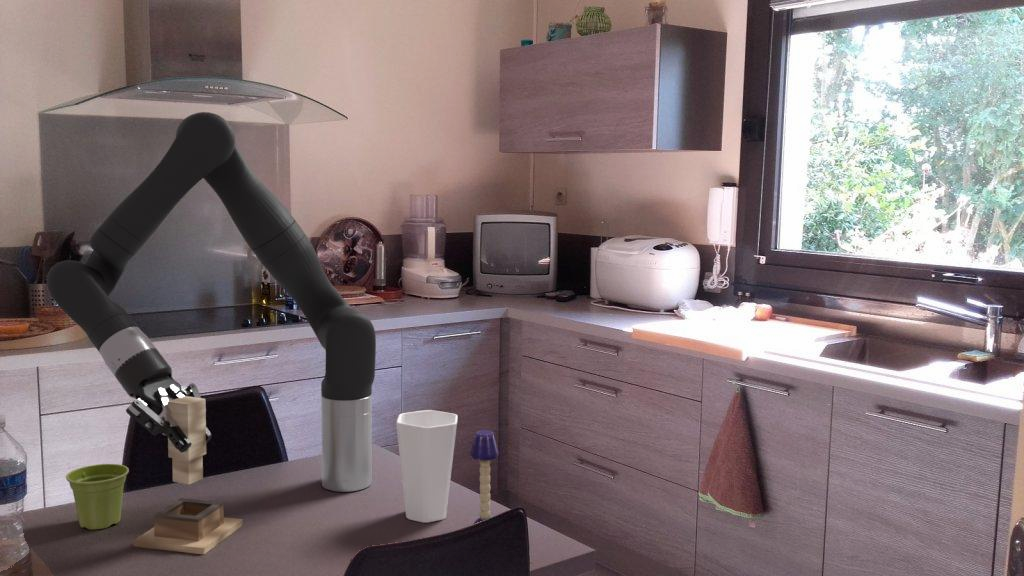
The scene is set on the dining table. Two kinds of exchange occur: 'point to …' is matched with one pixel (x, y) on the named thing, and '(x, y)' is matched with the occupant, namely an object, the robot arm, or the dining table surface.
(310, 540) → the dining table surface
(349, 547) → the dining table surface
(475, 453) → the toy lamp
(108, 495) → the plant pot
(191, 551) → the board
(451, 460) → the cup
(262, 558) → the dining table surface
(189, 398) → the leg peg
